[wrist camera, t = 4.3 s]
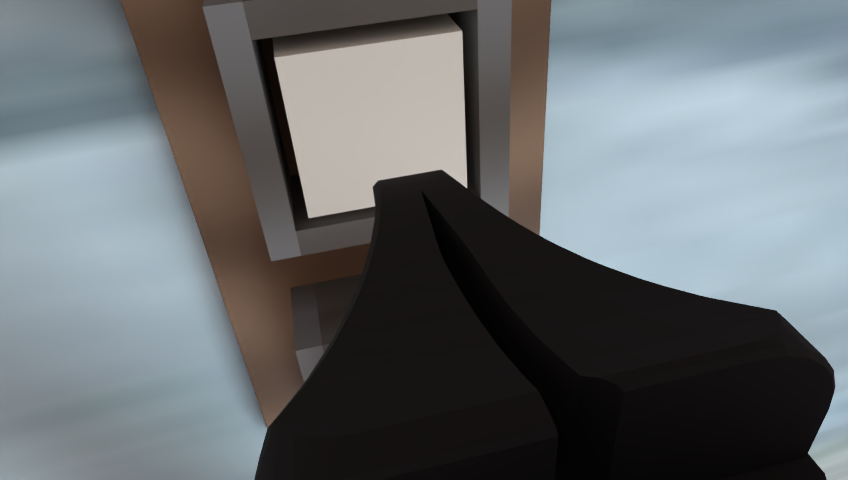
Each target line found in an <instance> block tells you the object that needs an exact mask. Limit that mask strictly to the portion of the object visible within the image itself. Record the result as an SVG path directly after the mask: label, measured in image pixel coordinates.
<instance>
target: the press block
mask: <svg viewBox="0 0 848 480" xmlns="http://www.w3.org/2000/svg"><path fill="white" fill-rule="evenodd" d="M121 3H122V6H123V9H124V12H125V15H126V18H127V21H128V24H129V27H130V30H131V33H132V35H133V38H134V41H135V44H136V47H137V50H138V53H139V56H140V59H141V62H142V65H143V67H144V70H145V73H146V76H147V79H148V82H149V85H150V88H151V91H152V94H153V97H154V99H155V102H156V105H157V108H158V111H159V114H160V117H161V120H162V123H163V126H164V129H165V131H166V134H167V137H168V140H169V143H170V146H171V149H172V152H173V155H174V158H175V161H176V163H177V166H178V169H179V172H180V175H181V178H182V181H183V184H184V187H185V190H186V193H187V195H188V198H189V201H190V204H191V207H192V210H193V213H194V216H195V219H196V222H197V225H198V227H199V230H200V233H201V236H202V239H203V242H204V245H205V248H206V251H207V254H208V257H209V259H210V262H211V265H212V268H213V271H214V274H215V277H216V280H217V283H218V286H219V289H220V291H221V294H222V297H223V300H224V303H225V306H226V309H227V312H228V315H229V318H230V321H231V323H232V326H233V329H234V332H235V335H236V338H237V341H238V344H239V347H240V350H241V353H242V355H243V358H244V361H245V364H246V367H247V370H248V373H249V376H250V379H251V382H252V385H253V387H254V390H255V393H256V396H257V399H258V402H259V405H260V408H261V411H262V414H263V417H264V419H265V422H266V425H267V428H268V427H269V426H270V424H271V423H272V422H273V421H274V420H275V419H276V417H277V416H278V415H279V414H280V412H281V411H282V410H283V409H284V408H285V406H286V405H287V404H288V403H289V401H290V400H291V399H292V398H293V396H294V395H295V394H296V393H297V392H298V390H299V389H300V388H301V386H302V385H303V384H304V382H305V381H306V380H307V378H308V377H309V375H310V374H311V372H312V371H313V369H314V368H315V366H316V364H317V363H318V361H319V360H320V358H321V357H322V355H323V354H324V352H325V351H326V349H327V348H328V346H329V344H330V343H331V341H332V339H333V337H334V336H335V334H336V332H337V330H338V328H339V326H340V324H341V322H342V320H343V318H344V316H345V314H346V312H347V310H348V308H349V306H350V303H351V301H352V298H353V296H354V294H355V291H356V289H357V286H358V283H359V280H360V278H361V275H362V272H363V268H364V265H365V261H366V258H367V254H368V250H369V247H370V243H371V237H372V231H373V226H374V220H375V206H374V207H369V208H363V209H358V210H352V211H347V212H341V213H335V214H330V215H324V216H319V217H313V218H309V217H308V213H307V208H306V203H305V199H304V194H303V189H302V185H301V180H300V175H299V171H298V166H297V161H296V157H295V152H294V147H293V143H292V138H291V133H290V129H289V124H288V119H287V115H286V110H285V105H284V101H283V96H282V91H281V87H280V82H279V77H278V73H277V68H276V63H275V59H274V49H273V37H279V36H287V35H294V34H301V33H308V32H316V31H323V30H330V29H337V28H344V27H352V26H359V25H366V24H373V23H381V22H388V21H395V20H402V19H410V18H417V17H424V16H431V15H439V14H446V13H447V14H448V15H449V17H450V18H451V19H452V20H453V21H454V22H455V23H456V24H457V25H458V27H459V28H460V29H461V30H462V38H463V70H464V101H465V133H466V164H467V189H469V190H470V191H471V192H473V193H474V194H475V195H477V196H478V197H479V198H481V199H482V200H484V201H485V202H487V203H488V204H489V205H491V206H492V207H494V208H495V209H497V210H498V211H500V212H501V213H503V214H504V215H506V216H507V217H509V218H510V219H512V220H514V221H515V222H517V223H518V224H520V225H522V226H524V227H525V228H527V229H529V230H530V231H532V232H534V233H536V234H537V235H539V231H540V212H541V192H542V172H543V152H544V132H545V112H546V92H547V73H548V53H549V33H550V13H551V0H121Z"/></svg>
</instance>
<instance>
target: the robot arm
mask: <svg viewBox="0 0 848 480" xmlns="http://www.w3.org/2000/svg"><path fill="white" fill-rule="evenodd" d="M373 194H374V201H375V220H374V226H373V231H372V237H371V243H370V247H369V250H368V254H367V258H366V261H365V265H364V268H363V272H362V275H361V278H360V280H359V283H358V286H357V289H356V291H355V294H354V296H353V298H352V301H351V303H350V306H349V308H348V310H347V312H346V314H345V316H344V318H343V320H342V322H341V324H340V326H339V328H338V330H337V332H336V334H335V336H334V337H333V339H332V341H331V343H330V344H329V346H328V348H327V349H326V351H325V352H324V354H323V355H322V357H321V358H320V360H319V361H318V363H317V364H316V366H315V368H314V369H313V371H312V372H311V374H310V375H309V377H308V378H307V380H306V381H305V382H304V384H303V385H302V386H301V388H300V389H299V390H298V392H297V393H296V394H295V395H294V396H293V398H292V399H291V400H290V401H289V403H288V404H287V405H286V406H285V408H284V409H283V410H282V411H281V412H280V414H279V415H278V416H277V417H276V419H275V420H274V421H273V422H272V423H271V424H270V426H269V427H268V429H267V433H266V436H265V440H264V443H263V447H262V451H261V454H260V458H259V462H258V467H257V471H256V475H255V480H826V476H825V473H824V472H823V471H822V470H821V469H820V467H819V466H818V465H817V464H816V463H815V461H814V460H813V459H812V458H811V457H810V456H809V454H808V451H809V449H810V447H811V445H812V443H813V441H814V439H815V437H816V435H817V433H818V430H819V428H820V426H821V424H822V422H823V420H824V418H825V416H826V414H827V412H828V410H829V407H830V404H831V400H832V397H833V394H834V390H835V379H834V370H833V368H832V367H831V366H830V364H829V363H828V361H827V360H826V358H825V357H824V356H823V355H822V354H821V353H820V352H819V351H818V350H817V349H816V348H815V347H814V346H813V345H811V344H810V343H809V342H808V341H807V340H806V339H805V338H804V337H803V336H802V335H801V334H800V333H799V332H798V331H797V330H796V329H795V328H794V327H793V326H792V325H791V324H790V323H789V322H788V321H787V320H786V319H785V318H784V317H782V316H781V315H780V314H779V313H778V312H777V311H775V310H770V309H765V308H760V307H754V306H749V305H744V304H739V303H734V302H728V301H723V300H718V299H713V298H708V297H704V296H699V295H696V294H692V293H688V292H684V291H681V290H677V289H673V288H669V287H665V286H662V285H659V284H655V283H652V282H649V281H646V280H642V279H639V278H636V277H633V276H631V275H628V274H625V273H622V272H619V271H617V270H614V269H611V268H608V267H606V266H603V265H601V264H598V263H596V262H593V261H591V260H588V259H586V258H584V257H582V256H580V255H577V254H575V253H573V252H571V251H569V250H567V249H564V248H562V247H560V246H558V245H556V244H554V243H552V242H550V241H548V240H546V239H544V238H543V237H541V236H539V235H537V234H536V233H534V232H532V231H530V230H529V229H527V228H525V227H524V226H522V225H520V224H518V223H517V222H515V221H514V220H512V219H510V218H509V217H507V216H506V215H504V214H503V213H501V212H500V211H498V210H497V209H495V208H494V207H492V206H491V205H489V204H488V203H487V202H485V201H484V200H482V199H481V198H479V197H478V196H477V195H475V194H474V193H473V192H471V191H470V190H469V189H467V188H466V187H465V186H463V185H462V184H461V183H459V182H458V181H457V180H455V179H454V178H453V177H451V176H450V175H449V174H447V173H446V172H445V171H443V170H436V171H430V172H424V173H419V174H413V175H407V176H401V177H396V178H390V179H384V180H378V181H377V182H376V183H375V185H374V186H373Z"/></svg>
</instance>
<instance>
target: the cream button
mask: <svg viewBox="0 0 848 480" xmlns="http://www.w3.org/2000/svg"><path fill="white" fill-rule="evenodd" d="M273 49H274V59H275V63H276V68H277V73H278V77H279V82H280V87H281V91H282V96H283V101H284V105H285V110H286V115H287V119H288V124H289V129H290V133H291V138H292V143H293V147H294V152H295V157H296V161H297V166H298V171H299V175H300V180H301V185H302V189H303V194H304V199H305V203H306V208H307V213H308V217H309V218H313V217H319V216H324V215H330V214H335V213H341V212H347V211H352V210H358V209H363V208H369V207H374V206H375V201H374V194H373V186H374V185H375V183H376V182H377V181H378V180H384V179H390V178H396V177H401V176H407V175H413V174H419V173H424V172H430V171H436V170H443V171H445V172H446V173H447V174H449V175H450V176H451V177H453V178H454V179H455V180H457V181H458V182H459V183H461V184H462V185H463V186H465V187H466V188H467V164H466V133H465V101H464V70H463V38H462V30H461V29H460V28H459V27H458V25H457V24H456V23H455V22H454V21H453V20H452V19H451V18H450V17H449V15H448V14H447V13H446V14H439V15H431V16H424V17H417V18H410V19H402V20H395V21H388V22H381V23H373V24H366V25H359V26H352V27H344V28H337V29H330V30H323V31H316V32H308V33H301V34H294V35H287V36H279V37H273Z"/></svg>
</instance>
